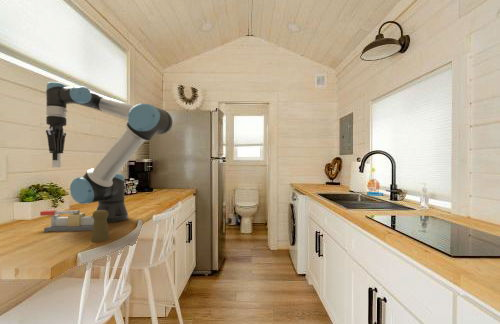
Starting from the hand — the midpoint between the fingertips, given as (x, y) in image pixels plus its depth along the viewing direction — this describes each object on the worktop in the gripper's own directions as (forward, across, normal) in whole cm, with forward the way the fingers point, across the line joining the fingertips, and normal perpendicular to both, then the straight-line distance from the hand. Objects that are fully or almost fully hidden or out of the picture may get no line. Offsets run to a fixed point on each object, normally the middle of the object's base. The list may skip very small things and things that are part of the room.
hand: (56, 167), depth 123 cm
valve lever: (+20, -10, -7) cm, 24 cm away
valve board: (+26, -10, -13) cm, 31 cm away
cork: (+27, -30, -29) cm, 50 cm away
